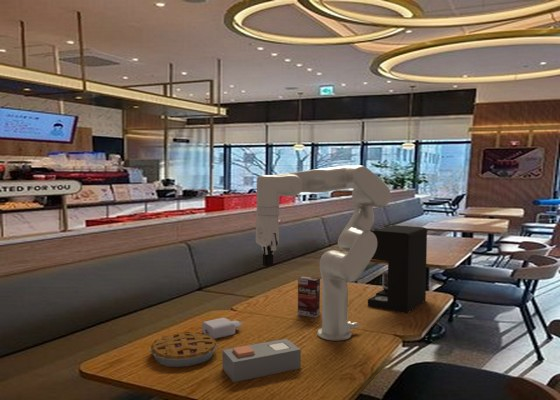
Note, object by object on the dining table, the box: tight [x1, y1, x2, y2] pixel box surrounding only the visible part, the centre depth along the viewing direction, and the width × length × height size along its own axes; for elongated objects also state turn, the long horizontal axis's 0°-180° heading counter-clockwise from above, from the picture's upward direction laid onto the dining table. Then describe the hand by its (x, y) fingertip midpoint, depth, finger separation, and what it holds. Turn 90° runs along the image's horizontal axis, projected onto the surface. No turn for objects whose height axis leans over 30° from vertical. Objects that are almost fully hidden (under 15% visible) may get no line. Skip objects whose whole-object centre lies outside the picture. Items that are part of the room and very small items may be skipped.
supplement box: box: [297, 276, 321, 318], centre depth 194 cm, size 9×5×16 cm, turn 68°
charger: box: [201, 317, 245, 340], centre depth 174 cm, size 5×9×15 cm
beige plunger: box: [269, 343, 289, 351], centre depth 144 cm, size 5×5×6 cm
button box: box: [222, 338, 302, 383], centre depth 142 cm, size 22×10×6 cm, turn 116°
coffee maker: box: [367, 224, 428, 314], centre depth 213 cm, size 28×20×35 cm
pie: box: [150, 331, 218, 368], centre depth 153 cm, size 22×22×5 cm
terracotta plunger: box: [233, 345, 254, 358], centre depth 139 cm, size 5×5×6 cm
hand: (268, 265), depth 155 cm, fingers closed
